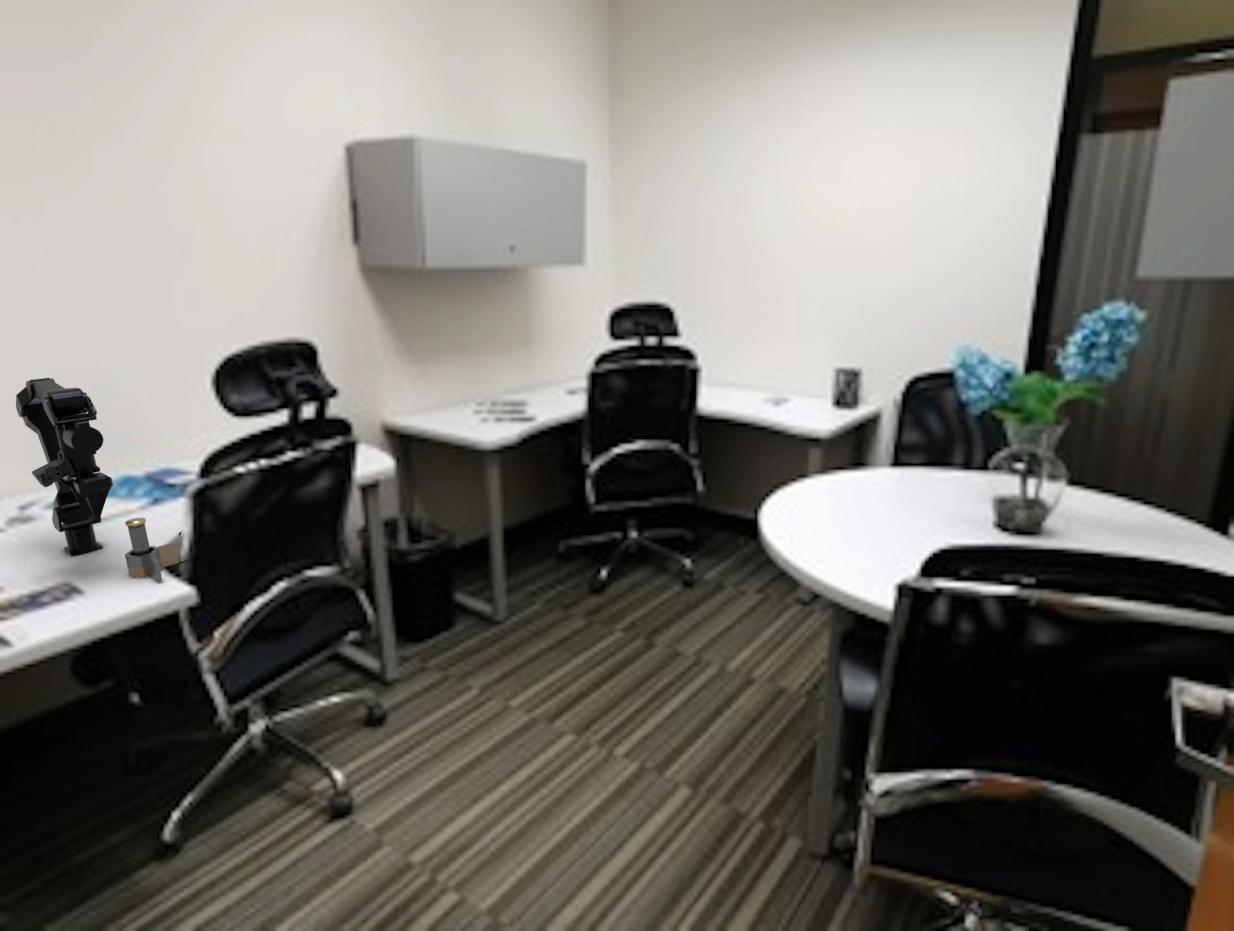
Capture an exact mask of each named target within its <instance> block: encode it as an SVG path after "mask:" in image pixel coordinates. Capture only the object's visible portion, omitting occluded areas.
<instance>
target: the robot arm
mask: <svg viewBox="0 0 1234 931" xmlns="http://www.w3.org/2000/svg"><path fill="white" fill-rule="evenodd" d="M15 408H16V413H17V414H18V416H19V418H22V420H23V422H24V425H25V426H26V427H27V428H28V429H29V430H31V431H32V432H34V433H35V434H36V435H37V437H38V440H39V442H40V446H41V449H42V450H43V453H44V456H45V457H44V458H45V460H46V462H47V463H46V464H44V465H42V466H39V467H38V468H36V469H34V470H33V471H31V474H32V475H33V477H34V478H35V479H36V481H37V482H38V483H39V484H40V485H41V486H43V487H44V488H48V487H50V486H52V485H53V484H54V485H55V487H56V494H55V497H54V500H53V508H52V516H51V520H52V525H53V528H54V529H55V530H56V531H57V532H59V533H63V532H64V536H65V540H66V544H67V546H64V547H63V550H64V551H65V552H66V553H67V554H69V555H70V556H72V557H73V556H74V557H75V556H77V555H80V554H81V555H82V554H85V553H87V552H93V551H97V550H99V549H102V548H104V547H103V545H102V544H100V543H99V541H97V538H96V537H97V536H96V533H95V530H94V525H95V524H100V523H102V514H103V510H104V507H105V504H106V501H107V498H108V495H109V493H110V490H112V487H114V484H113V479H112V477H110V476H108V475H107V474H105V473H103V472H102V471H101V468H100V467H99V466H98V465H97V462H96V457H95V455H97V451H99V450H100V449H101V448H102V446H103V444H104V435H103V434H102V433H101V431H100V430H98V429H97V428H94V427H92V426H91V424H90V421H97V419H98V418H97V414H98V413H97V412H98V411H97V409H96V407H95V405H94V403H93V401H92V399H91V397H90V396H88V394H87V392H84V391H83V389H82V388H79V387H69V388H68V387H67V388H65V387H64V386H62V385H61V384H58V383H57V382H56V381H55V379H54V378H50V377H43V378H34V379H29V380H27V381H26V382H25V387H24V388H23V389H21V390H20V391H19V392H18V393H16V396H15Z"/></svg>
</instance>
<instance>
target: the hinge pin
mask: <svg viewBox="0 0 1234 931" xmlns="http://www.w3.org/2000/svg"><path fill="white" fill-rule="evenodd" d="M146 522H147V520H146V518H145V517H134V518H131V519H127V520H126V521H125V522H124V523H125V526H126V527H127V529H128V534H129V538H130V539H129V540H130V543H131V546H132V547H131V548H132V549H131V550H133V553H134V556H141V555H144V554H148V553H151V551H150V546H151V545H150V543H149V538H148V532H147V528H146V524H145V523H146Z"/></svg>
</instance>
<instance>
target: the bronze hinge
mask: <svg viewBox="0 0 1234 931" xmlns="http://www.w3.org/2000/svg"><path fill="white" fill-rule="evenodd" d="M183 540H184V539H181V540H177V541H173V542H169V543H166V544H163V545H159V546H151V545H149V546H150V551H151V553H148V554H144V555H141V556H134V553H133V549H130V550H129V551H127V552H126V553H125V554H124V556H125V558H124V559H125V561H126V567H127V570H128V576H130V577H131V576H132V577H131V578H132V579H136V578H135V577H144V578H147V577H146V576H148V577H150V579H152V578H153V579H152V580H154V581H155V580H156V581H157V582H156V581H155V582H156V583H158V582H161V581H162V582H163V578H162V574H161V572H162V570H164V568H166V567H170V566H172V565H177V564H180V563H179V555H180V549H181V546H182V541H183ZM162 582H161V583H162Z"/></svg>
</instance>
